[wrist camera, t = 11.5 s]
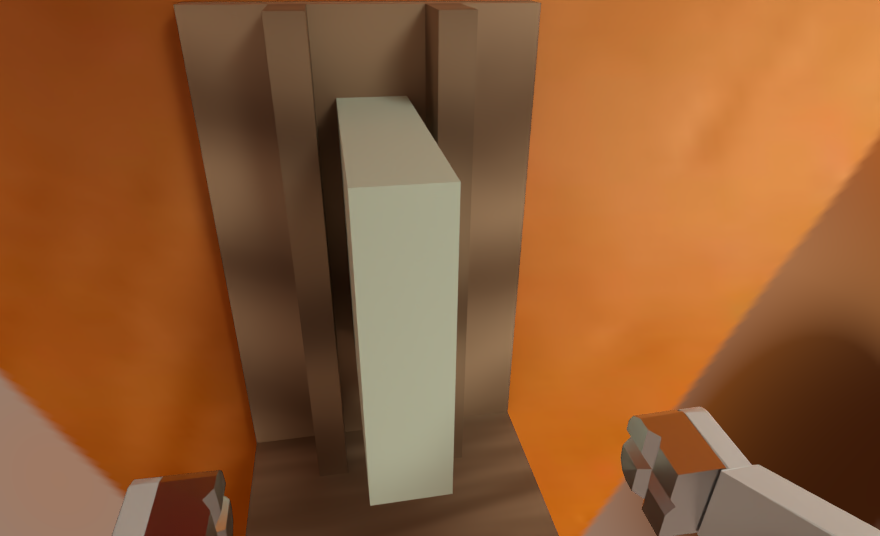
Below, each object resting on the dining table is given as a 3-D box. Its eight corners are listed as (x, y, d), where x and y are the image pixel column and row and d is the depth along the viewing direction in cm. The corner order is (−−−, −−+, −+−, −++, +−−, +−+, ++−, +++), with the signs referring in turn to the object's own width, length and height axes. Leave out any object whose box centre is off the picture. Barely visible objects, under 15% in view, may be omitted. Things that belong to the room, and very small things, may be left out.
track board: (180, 1, 19) (-49, 87, 7) (530, 0, 21) (813, 64, 9) (263, 447, 29) (224, 808, 17) (499, 417, 31) (618, 721, 19)
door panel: (335, 98, 20) (347, 188, 13) (406, 95, 21) (461, 182, 13) (353, 334, 25) (370, 505, 17) (411, 328, 26) (452, 493, 18)
